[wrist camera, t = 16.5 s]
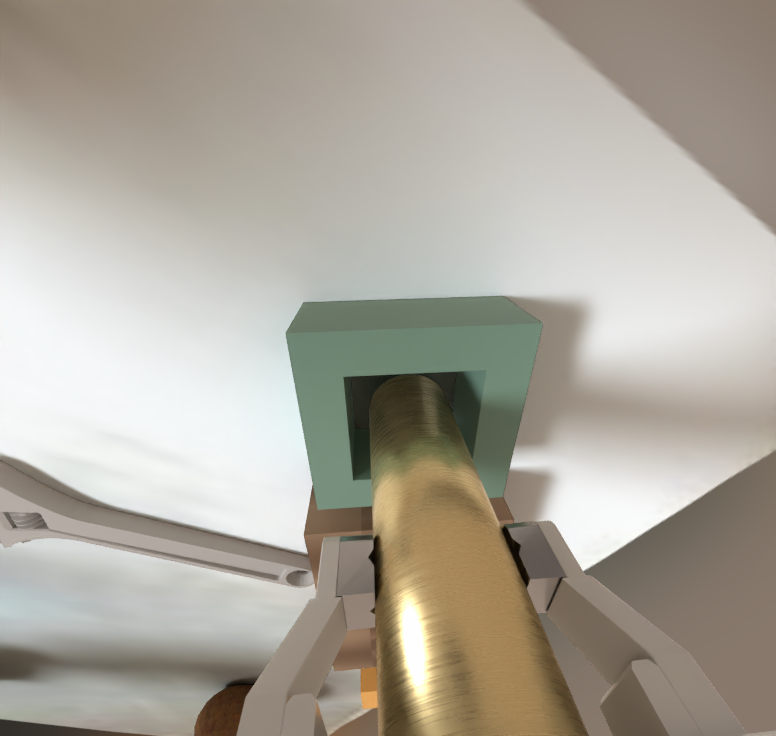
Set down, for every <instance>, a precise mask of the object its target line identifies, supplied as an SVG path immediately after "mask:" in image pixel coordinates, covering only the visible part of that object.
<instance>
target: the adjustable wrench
mask: <svg viewBox="0 0 776 736" xmlns="http://www.w3.org/2000/svg"><path fill="white" fill-rule="evenodd" d="M41 538H61V539H70V540H76V541H82V542H86V543H91V544H96V545H100V546H105V547H110V548H114V549H119V550H124V551H128V552H133V553H138V554H142V555H147V556H152V557H156V558H161V559H166V560H170V561H175V562H180V563H184V564H189V565H194V566H198V567H203V568H208V569H212V570H217V571H222V572H226V573H231V574H236V575H240V576H245V577H250V578H254V579H259V580H264V581H268V582H273V583H278V584H282V585H287V586H292V587H298V588H301V587H307V586H310V585H312V584H314V578H313V574H312V569H311V565H310V561H309V557H307V556H303V555H299V554H295V553H290V552H286V551H282V550H278V549H274V548H270V547H265V546H261V545H257V544H253V543H249V542H244V541H240V540H236V539H232V538H228V537H223V536H219V535H215V534H211V533H207V532H202V531H198V530H194V529H190V528H186V527H181V526H177V525H173V524H169V523H165V522H161V521H156V520H152V519H148V518H144V517H140V516H135V515H131V514H127V513H123V512H119V511H114V510H110V509H106V508H102V507H98V506H94V505H91V504H87V503H84V502H81V501H79V500H76V499H74V498H71V497H69V496H67V495H65V494H63V493H60V492H58V491H56V490H54V489H52V488H50V487H48V486H46V485H44V484H42V483H40V482H38V481H36V480H34V479H33V478H31V477H29V476H27V475H26V474H24V473H22V472H20V471H18V470H17V469H15V468H13V467H11V466H10V465H8V464H6V463H4V462H2V461H0V543H2V544H3V546H4V547H11V546H12V545H14V544H15V543H18V542H22V543H24V542H28V541H31V540H34V539H41ZM298 570H303V571H308V572H297V571H298Z"/></svg>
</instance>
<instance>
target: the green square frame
mask: <svg viewBox="0 0 776 736" xmlns="http://www.w3.org/2000/svg"><path fill="white" fill-rule="evenodd" d="M542 326H543V323H542V322H541V321H539V320H538V319H536V318H535V317H533V316H532V315H530V314H529V313H527V312H526V311H524V310H523V309H521V308H520V307H519V306H517V305H516V304H514V303H513V302H511V301H510V300H508V299H507V298H505V297H504V296H489V297H459V298H429V299H399V300H369V301H338V302H308V303H303V304H302V306H301V308H300V309H299V311H298V313H297V315H296V316H295V318H294V320H293V321H292V323H291V325H290V326H289V328H288V330H287V332H286V339H287V344H288V350H289V355H290V361H291V366H292V372H293V377H294V383H295V388H296V394H297V399H298V405H299V410H300V416H301V421H302V427H303V432H304V438H305V443H306V449H307V454H308V460H309V465H310V471H311V476H312V482H313V487H314V493H315V499H316V504H317V510H324V509H338V508H353V507H367V506H372V492H371V457H370V428H368V429H355V424H354V412H353V399H352V387H351V376H371V375H393V374H414V373H436V372H457V374H456V383H455V393H454V403H453V412H452V413H453V415H454V417H455V420H456V422H457V424H458V427H459V429H460V432H461V434H462V436H463V439H464V441H465V443H466V446H467V448H468V451H469V453H470V455H471V458H472V460H473V462H474V465H475V467H476V470H477V472H478V474H479V477H480V479H481V481H482V484H483V486H484V488H485V491H486V493H487V496H488V498H497V497H503V493H504V489H505V485H506V481H507V476H508V472H509V468H510V463H511V459H512V455H513V451H514V446H515V442H516V438H517V433H518V429H519V425H520V421H521V416H522V412H523V408H524V403H525V399H526V395H527V391H528V386H529V382H530V378H531V373H532V369H533V365H534V361H535V356H536V352H537V348H538V343H539V339H540V335H541V331H542Z"/></svg>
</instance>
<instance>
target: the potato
mask: <svg viewBox="0 0 776 736" xmlns="http://www.w3.org/2000/svg"><path fill="white" fill-rule="evenodd" d="M252 687H253V686H252V685H235V686H230V687H227V688H225V689H223V690H222V691H220V692H219V693H217V694H216V695H214V696H213V697H212V698H211V699H210V700H209V701H208V702H207V703H206V705H205V706H204V708H203V709H202V711H201V712H200V714H199V715H198V718H197V721H196V725H195V733H194V736H236V735H237V731H238V727H239V723H240V719H241V715H242V710H243V706H244V702H245V698H246V696H247V694H248V693H249V691H250V690H251V688H252Z"/></svg>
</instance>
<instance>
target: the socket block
mask: <svg viewBox="0 0 776 736" xmlns="http://www.w3.org/2000/svg"><path fill="white" fill-rule="evenodd" d="M489 500H490V503H491V505H492V507H493V510H494V512H495V515H496V517H497V519H498V522H499V524H500V526H502V525H503V524H512V523H513V522H514V519H513V517H512V514H511V512H510V510H509V508H508V506H507V504H506V502H505V500H504V497H497V498H489ZM369 534H373V527H372V506H367V507H353V508H338V509H324V510H317V504H316V499H315V493H314V487H313V486H312V492H311V497H310V503H309V509H308V514H307V520H306V525H305V531H304V538H305V543H306V547H307V552H308V556H309V561H310V565H311V569H312V574H313V578H314V583H315V587H316V590H317V582H318V574H319V566H320V557H321V549H322V543H323V539H324V537H336V536H355V535H369ZM333 667H334V671H342V670H352V669H362V668H373V667H376V633H375V627H374V628H366V629H357V630H349V631H347V635H346V637H345V639H344V641H343V643H342V645H341V648H340V650H339V652H338V654H337V656H336V658H335V660H334V662H333Z"/></svg>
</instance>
